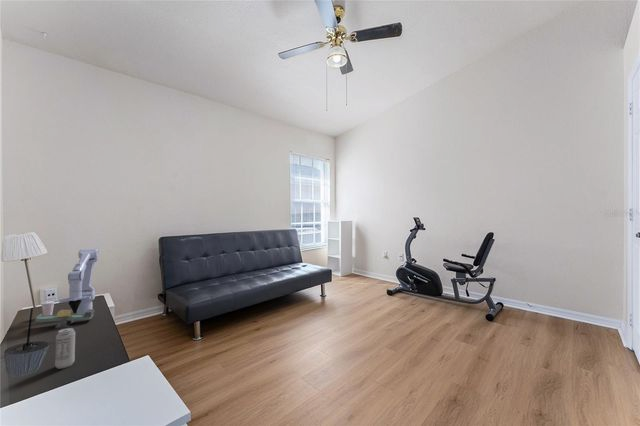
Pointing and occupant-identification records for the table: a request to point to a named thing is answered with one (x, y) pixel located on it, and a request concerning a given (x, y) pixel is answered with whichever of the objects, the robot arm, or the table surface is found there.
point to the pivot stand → (64, 323)
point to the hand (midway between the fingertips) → (75, 312)
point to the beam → (47, 318)
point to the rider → (64, 313)
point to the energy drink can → (65, 348)
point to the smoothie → (47, 307)
